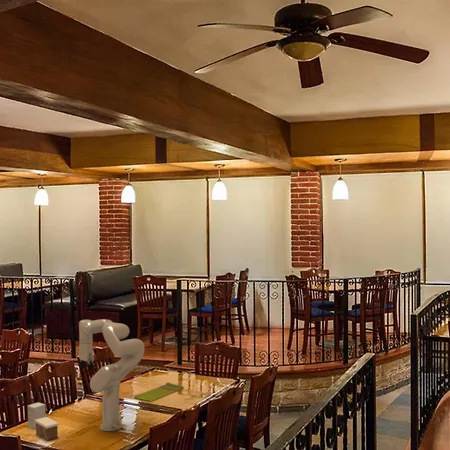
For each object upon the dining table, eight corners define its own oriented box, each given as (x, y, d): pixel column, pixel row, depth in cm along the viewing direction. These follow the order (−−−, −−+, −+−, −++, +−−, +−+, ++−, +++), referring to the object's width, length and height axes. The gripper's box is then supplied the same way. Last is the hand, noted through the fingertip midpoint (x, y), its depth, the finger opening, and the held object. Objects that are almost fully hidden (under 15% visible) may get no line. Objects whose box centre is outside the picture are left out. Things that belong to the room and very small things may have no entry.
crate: (57, 438, 306) (57, 425, 307) (47, 441, 302) (46, 428, 302) (46, 431, 317) (46, 419, 317) (36, 434, 313) (35, 422, 313)
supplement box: (39, 423, 331) (38, 402, 331) (46, 426, 327) (45, 404, 327) (27, 427, 326) (27, 405, 326) (34, 429, 321) (34, 407, 321)
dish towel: (184, 389, 395) (184, 384, 395) (150, 403, 366) (150, 398, 366) (167, 386, 404) (167, 382, 404) (133, 399, 374) (133, 394, 374)
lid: (58, 426, 306) (58, 423, 306) (46, 430, 302) (46, 426, 302) (46, 420, 318) (46, 416, 318) (34, 423, 313) (34, 419, 313)
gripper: (73, 339, 340) (74, 368, 339) (86, 343, 326) (87, 373, 326) (85, 338, 344) (86, 366, 344) (98, 341, 331) (99, 370, 331)
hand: (86, 369), depth 335 cm, fingers open, 9 cm apart
